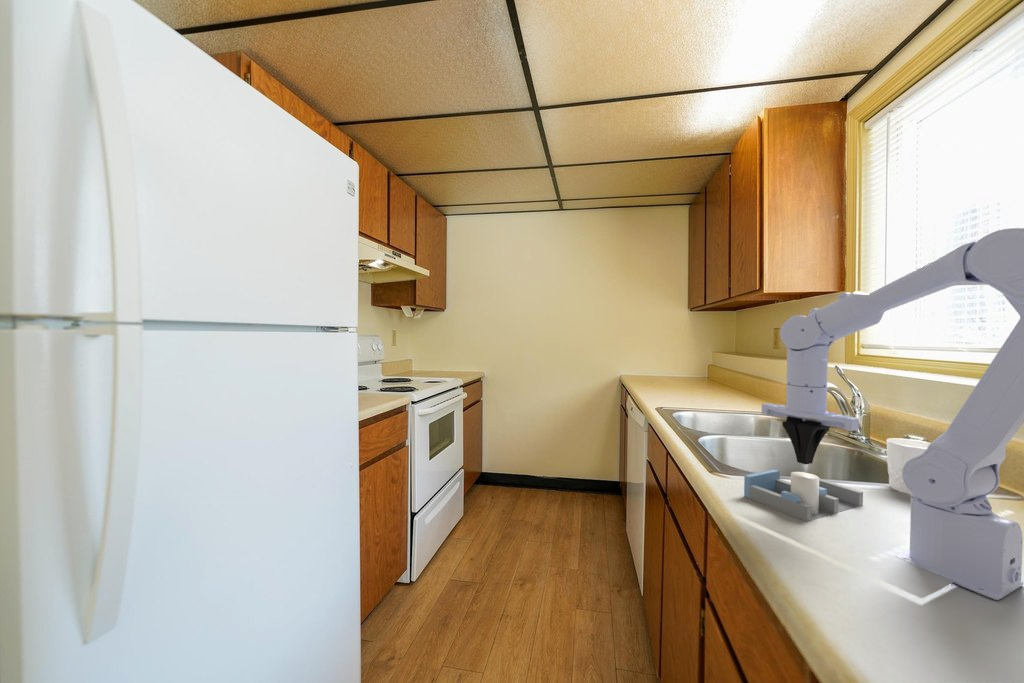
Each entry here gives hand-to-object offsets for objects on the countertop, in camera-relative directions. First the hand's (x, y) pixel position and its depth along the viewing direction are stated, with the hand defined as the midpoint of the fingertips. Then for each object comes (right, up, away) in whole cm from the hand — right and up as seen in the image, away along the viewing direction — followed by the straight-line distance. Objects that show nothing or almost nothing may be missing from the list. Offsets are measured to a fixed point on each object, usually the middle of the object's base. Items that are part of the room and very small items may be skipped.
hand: (804, 462), depth 69 cm
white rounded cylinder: (0, -8, 0) cm, 8 cm away
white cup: (+28, -9, +9) cm, 31 cm away
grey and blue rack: (+3, -9, +4) cm, 10 cm away
